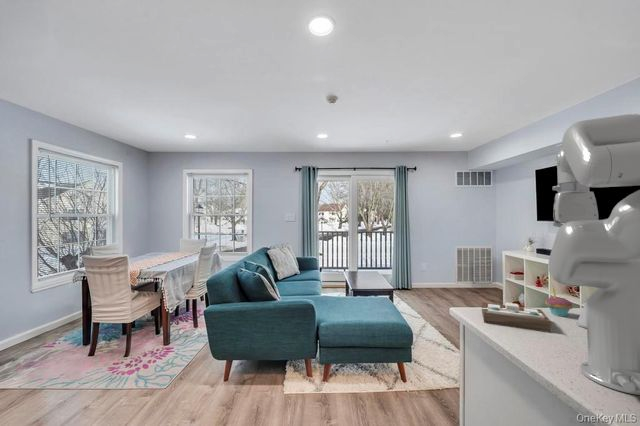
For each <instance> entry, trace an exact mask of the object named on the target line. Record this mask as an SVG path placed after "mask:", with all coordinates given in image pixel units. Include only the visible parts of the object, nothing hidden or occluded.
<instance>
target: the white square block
mask: <svg viewBox="0 0 640 426" xmlns="http://www.w3.org/2000/svg"><path fill="white" fill-rule="evenodd" d="M493 304H494V303H489V304H488V307H494V308H500V306H499V305H500V304H497V305H493Z"/></svg>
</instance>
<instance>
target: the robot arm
mask: <svg viewBox="0 0 640 426" xmlns="http://www.w3.org/2000/svg"><path fill="white" fill-rule="evenodd" d="M555 157H556V158H555V159H556V160H555V161H556V168H557V172H556V173H557V185H554V186H552V189H551V190H552V191H556V192H557V193H555V196H554V200H553V201H554V202H553V214H552V215H553V216H552V217H553V223H552V224H553V227H556V228H558V230H557V232H556V235H555V238H554V242H553V245H552V247H551V251H550V254H549V257H548V272H549V275H550V277H551V278H552V279H553V281H555V282H556V283H559V284H561V285H566V286H576V287H590V288H597V289H596V290H594V291H593V292H592V293H591V295H590V296H589V297H588V298H587V299H588V300H587V304H586V314H587V328H586V331H587V332H586V335H587V337H586V338H587V355H588V356H587V357H588V359H587V360H588V361H587V362H586V361H585V362H583V363H581V364H580V366H579V368H580V372H581V373H582V375H584V376H585V377H586V378H588V379H590V380H592V381H593V382H595V383H596V384H599V385H602V386H603V387H607V388H610V389H612V390H615V391H618V392H623V393H626V394H631V395H636V396H637V395H638V396H640V189H638V190H636V191H634V192H633V193H631V194H629V195H627V196H626V197H625V198H623V199H622V200H620V201H619V202H617V204H616V205H615V206H614V207H613V208H612V210H611V212H610V215H609V216H608V218H604V219H599V210H598V204H597V199H596V197H595V193H594V191H590V188H610V187H611V188H612V187H613V188H614V187H633V186H640V114H638V113H632V114H620V115H615V116H614V115H613V116H607V117H600V118H599V117H598V118H592V119H585V120H579V121H577V122H575V123H573V124H571V125H570V126H568V128H567V129H566V130H565V132H564V134H563V136H562V141H561V148H560V150H559V152H558V153H557V154H556V156H555Z"/></svg>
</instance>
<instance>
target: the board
mask: <svg viewBox="0 0 640 426" xmlns="http://www.w3.org/2000/svg"><path fill="white" fill-rule="evenodd" d="M488 304H490V303H487V302H481V314H482V320H483V323H484V324H491V325H498V326H504V327H511V328H516V329H517V328H519V329H525V330H532V331H538V332H545V333H552V323H551V322H552V321H551V319H550V318H549V317H548V316H547V315H546V314H545V313H544V311H542V309H538V308H535V309H536V310H537V311H538V312H539V313H535V312H526V311H524V308H525V307H523V306H522V307H521V306H519V311H518V310H510V309H502V308H505V304H504V305H503V304H497V303H496V304H495V303H492V304H493V305H499V306H500V308H494V307H488ZM482 308H488V309H482ZM526 308H527V309H533V308H531V307H530V308H529V307H526Z"/></svg>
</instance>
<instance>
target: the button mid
mask: <svg viewBox="0 0 640 426" xmlns="http://www.w3.org/2000/svg"><path fill="white" fill-rule="evenodd" d="M504 305H505V308H506V309H510V310H518V311H519V307H520V306H519V304H518V303H513V302H512V303H511V302H505V303H504Z"/></svg>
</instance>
